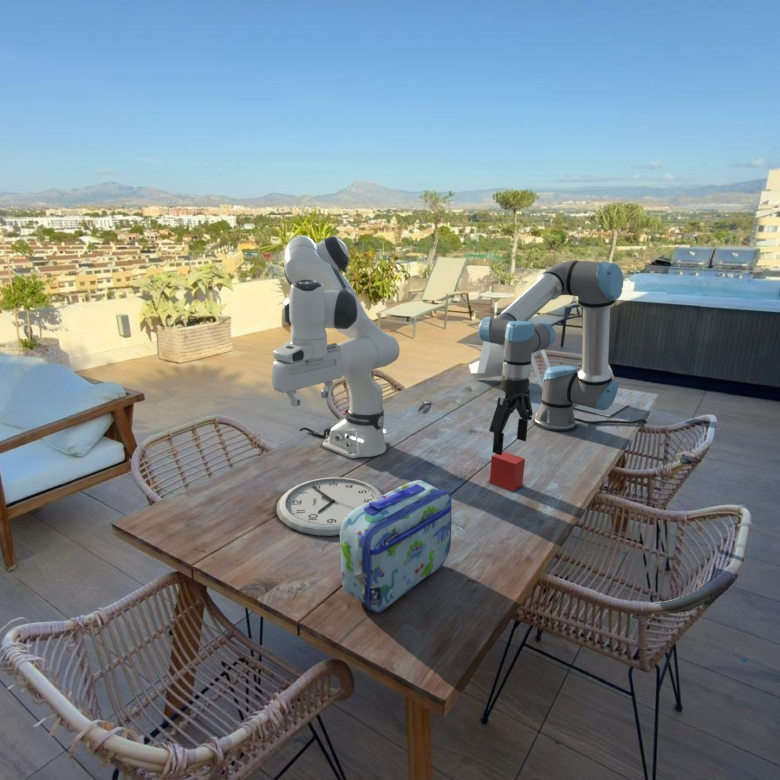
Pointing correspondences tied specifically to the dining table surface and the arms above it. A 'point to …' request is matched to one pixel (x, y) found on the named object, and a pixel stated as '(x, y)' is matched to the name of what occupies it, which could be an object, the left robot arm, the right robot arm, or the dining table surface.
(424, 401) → the fork
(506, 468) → the brick
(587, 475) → the dining table surface
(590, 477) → the dining table surface
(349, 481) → the wall clock
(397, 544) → the lunch box
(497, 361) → the white plastic object
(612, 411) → the invitation card
